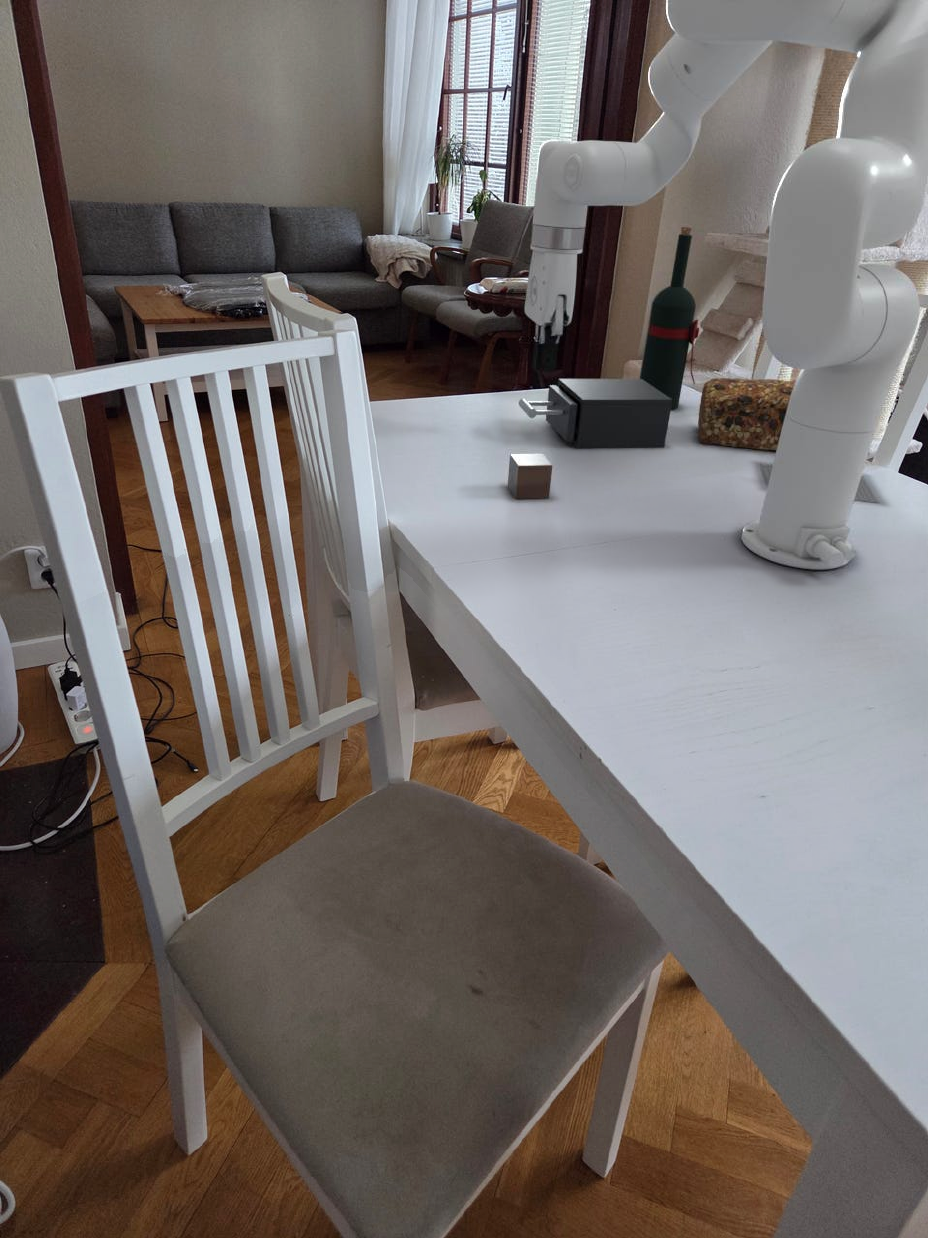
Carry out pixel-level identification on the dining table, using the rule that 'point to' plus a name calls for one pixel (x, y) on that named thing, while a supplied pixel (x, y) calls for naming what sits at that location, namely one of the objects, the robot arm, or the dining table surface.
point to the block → (529, 476)
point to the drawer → (557, 411)
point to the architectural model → (862, 492)
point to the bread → (743, 412)
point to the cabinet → (618, 413)
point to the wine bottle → (671, 329)
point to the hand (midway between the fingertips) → (543, 368)
